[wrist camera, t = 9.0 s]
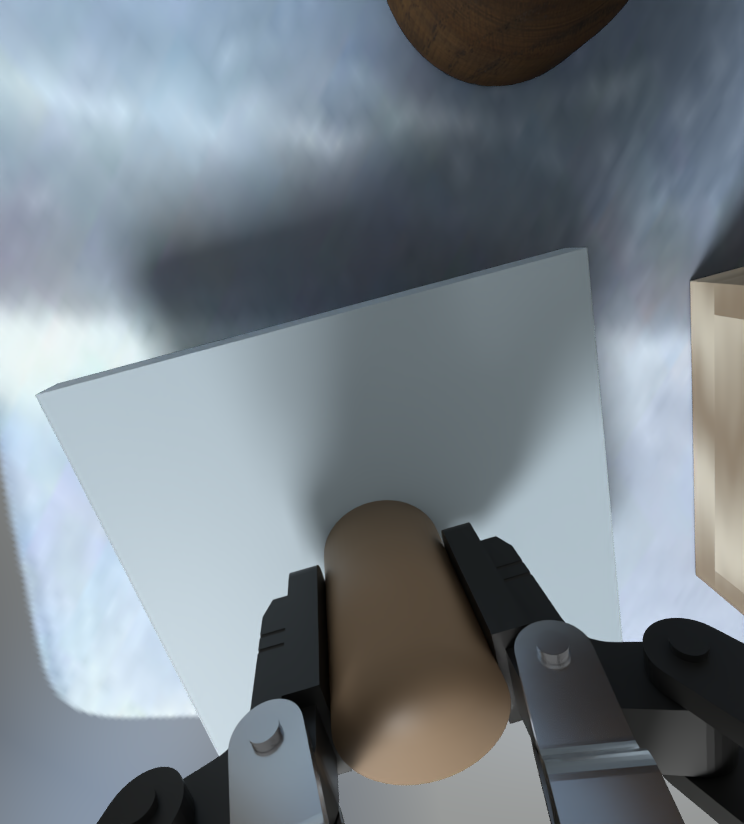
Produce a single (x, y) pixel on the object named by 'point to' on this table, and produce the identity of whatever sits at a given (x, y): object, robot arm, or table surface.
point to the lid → (361, 497)
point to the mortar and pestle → (500, 34)
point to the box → (719, 431)
